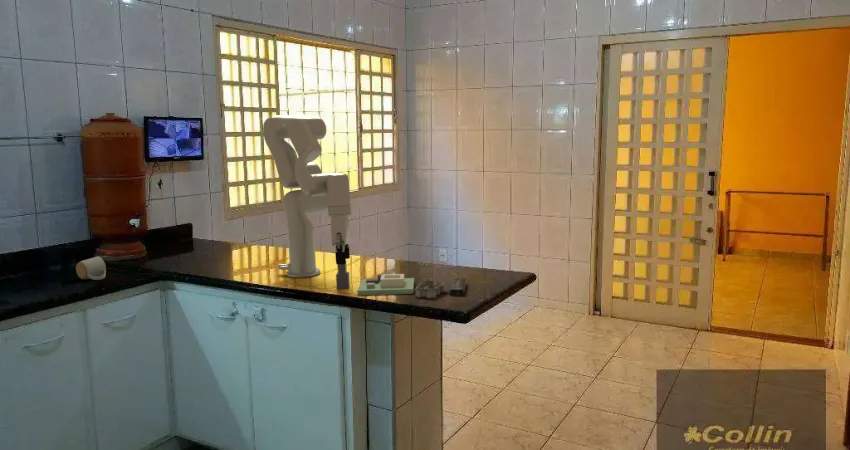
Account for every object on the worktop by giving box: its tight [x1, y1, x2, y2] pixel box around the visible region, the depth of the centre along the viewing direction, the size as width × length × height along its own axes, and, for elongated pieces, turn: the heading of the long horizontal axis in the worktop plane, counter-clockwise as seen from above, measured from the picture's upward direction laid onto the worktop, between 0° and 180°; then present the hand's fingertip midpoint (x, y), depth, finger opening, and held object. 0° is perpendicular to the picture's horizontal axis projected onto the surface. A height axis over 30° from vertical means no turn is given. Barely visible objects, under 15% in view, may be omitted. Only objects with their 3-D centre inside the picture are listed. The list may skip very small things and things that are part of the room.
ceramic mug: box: [75, 256, 107, 281], centre depth 238 cm, size 11×8×8 cm
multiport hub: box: [449, 278, 467, 297], centre depth 204 cm, size 4×14×2 cm, turn 173°
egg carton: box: [414, 277, 446, 299], centre depth 200 cm, size 11×8×4 cm
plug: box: [335, 263, 351, 290], centre depth 211 cm, size 4×3×9 cm
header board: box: [356, 273, 415, 296], centre depth 208 cm, size 18×15×4 cm
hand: (343, 261), depth 210 cm, fingers open, 9 cm apart
